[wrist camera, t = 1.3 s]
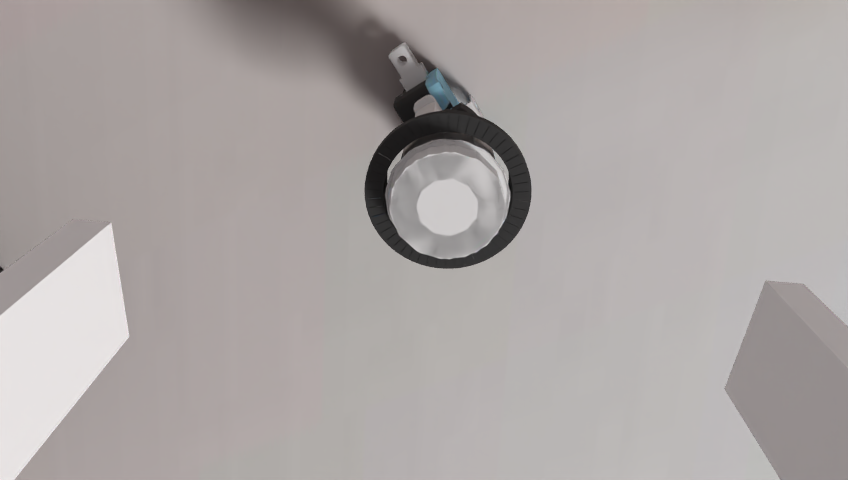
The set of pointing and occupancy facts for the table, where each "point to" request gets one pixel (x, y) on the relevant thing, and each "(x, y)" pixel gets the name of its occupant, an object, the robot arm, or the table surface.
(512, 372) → the table surface
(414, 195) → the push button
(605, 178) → the table surface
